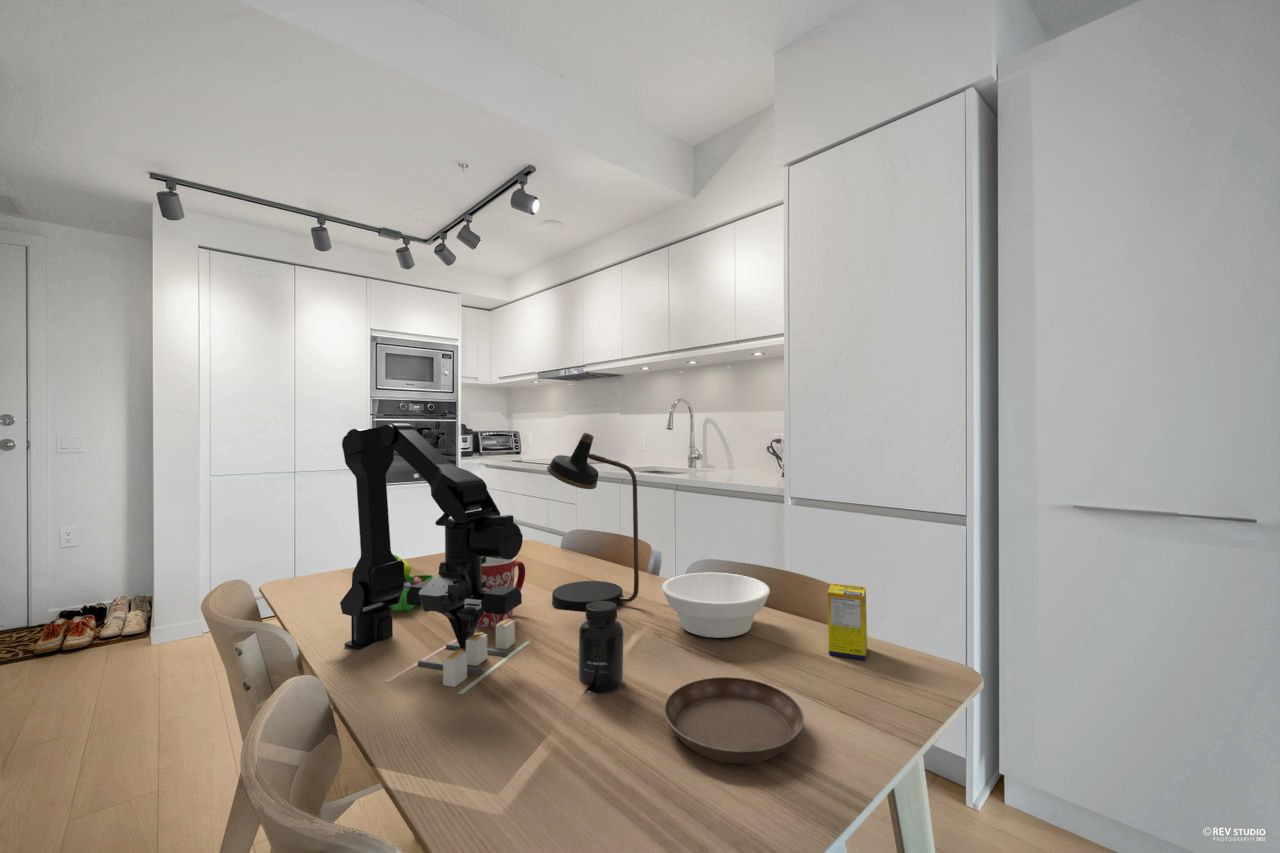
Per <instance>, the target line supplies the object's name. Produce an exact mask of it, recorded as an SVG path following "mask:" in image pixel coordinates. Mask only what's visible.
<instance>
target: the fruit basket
mask: <svg viewBox="0 0 1280 853" xmlns="http://www.w3.org/2000/svg"><path fill="white" fill-rule="evenodd" d="M393 555H394V556H395V558H396V559H397V560H398V561H400V560H402V561H403V562H404V575H405V579H406V582H404V588H403V591H402V593H401V597H400V601H399V604H396V605H392V606H389V607H391V611H394V612H395V611H411V610H413V609H414V608H415V607H416V606H414V605H407V592H408V590H409V589H410V587H411V586H414V585H416V584H419V583H421V582H424V581H426V580H431V579H433V578H434V577H433V575H432V574H410V573H411V570H412V567H411V565H410V563H409V562H408V561H406V560H404V559H402V558H401V557H400V556H398V555H396V554H393Z"/></svg>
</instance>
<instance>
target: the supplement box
mask: <svg viewBox="0 0 1280 853" xmlns="http://www.w3.org/2000/svg"><path fill="white" fill-rule="evenodd" d="M866 589H867V588H866V586H859V585H852V584H851V585H850V584H849V585H848V584H840V583H839V584H838V583H831V584H830V585H829V588H828V591H827V628H828V629H827V631H828V655H829V656H834V657H835V656H836V657H841V658H849V659H854V660H855V659H856V660H861V661H866V660H867V654H868V653H867V651H868V634H867V633H868V630H867V629H868V628H867V626H868V625H867V592H866Z"/></svg>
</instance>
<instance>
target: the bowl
mask: <svg viewBox="0 0 1280 853" xmlns="http://www.w3.org/2000/svg"><path fill="white" fill-rule="evenodd" d="M661 590H662V592H663V595H664V597H665V599H666V601H667V603H668V605H669V607H670V608H671V609H672V610H674V611H676V613H677V617H678V620H679V624H680V626H681V627H682V629H684V630H685V631H687V632H689V633H691V634H694V635H697V636H700V637H706V638H714V639H715V638H716V639H717V638H720V639H721V638H725V639H726V638H732V637H737V636H741V635H743V634H744V635H745V634H746V633H748V632H749V631H750V630H751V627H752V625H753V621H754V618H755V615H756V614H757V613H759V612H761V611H762V609H763V608H764V606H765V604H766V602H767V601H768V600H767V599H768V598H769V595H770V593H771V589H770V587H769V585H768V584H767V583H765V582H763V581H762V580H759V579H757V578H753V577H750V576H745V575H741V574H736V573H735V574H734V573H729V572H728V573H727V572H694V573H693V572H692V573H686V574H681V575H677V576H674V577H670V578H669V579H667V580H665V581H664V582H663V583H662V585H661Z"/></svg>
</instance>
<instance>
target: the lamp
mask: <svg viewBox="0 0 1280 853" xmlns="http://www.w3.org/2000/svg"><path fill="white" fill-rule="evenodd" d="M593 441H594V435H592V434H590V433H588V432H583V433H582V436H581V437H580V439H579V441H578V444H577V445H576V447H575V449H574V450H573V452H572V454H571V455H570V456H569V455H563V454H559V455H558V454H557V455H555V456H554V457H553V458H552V460H551V462H550V463H549V465H548V466H547V467H546V469H547V472H548V473H549V474H550V475H551V476H552V477H554V478H555V479H557V480H558V481H560V482H561V483H563V484H566V485H569V486H572V487H575V488H579V489H583V490H594V489H596V488H598V487H597V486H598V479H599V471H598V469H596V468H595V467H594V466H592V465H591V464H589V463H588V460H593V461H595V462H599V463H603V464H607V465H610V466H614V467H617V468H620V469H623V470H625V471H626V472H627V473H628V474H629V475H630V476H631V477H630V478H631V480H632V521H633V522H632V524H633V529H632V530H633V533H632V534H633V536H632V537H633V592H632V594H631V596H630V597H629V596H628V597H625V595H623V593H624V592H623V587H621V586H620V585H618V584H616V583H613V582H608V581H599V580H585V581H584V580H583V581H575V582H568V583H565V584H562V585H560V586H557V587H556V588H554V589H553V590H552V592H551V593H552V595H551V597H552V600H551V605H552V606H553V608H555V609H557V610H559V611H560V610H562V611H569V612H581V613H586V605H587V604H589V603H592V602H596V601H609V602H613V603H615V604H616V605H617V607H619V606H620V605H622V603H629V602H633V601H634V600H636V598H637V597H638V594H639V587H640V586H639V584H640V581H639V580H640V579H639V578H640V574H639V571H640V569H639V566H640V565H639V562H640V561H639V522H638V521H639V519H638V518H639V517H638V514H639V512H638V509H639V508H638V483H637V475H636V474H635V472H634V469H632V468H631V467H630V466H629V465H626V464H624V463H621V462H618V461H616V460H612V459H609V458H606V457H604V456H600V455H597V454H594V453H590V451H591V448H592V444H593Z"/></svg>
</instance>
